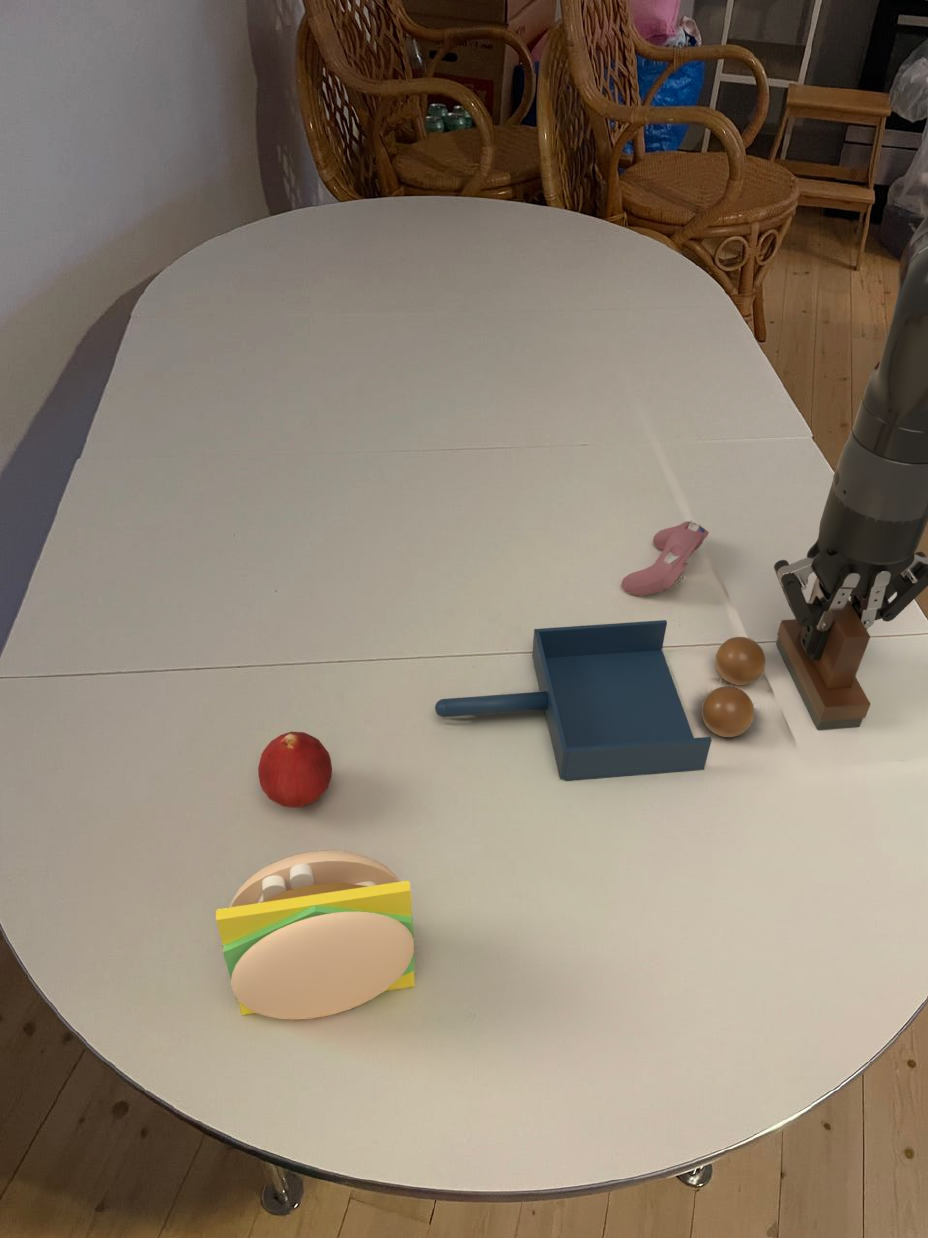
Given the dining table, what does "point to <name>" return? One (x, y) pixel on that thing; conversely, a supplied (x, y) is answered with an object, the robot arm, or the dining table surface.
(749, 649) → the brown ball
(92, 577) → the dining table surface
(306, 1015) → the hamburger
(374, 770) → the dining table surface
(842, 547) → the robot arm
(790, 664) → the brush
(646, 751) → the dustpan
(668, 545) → the pink socks
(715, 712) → the cork ball
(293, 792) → the onion
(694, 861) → the dining table surface
